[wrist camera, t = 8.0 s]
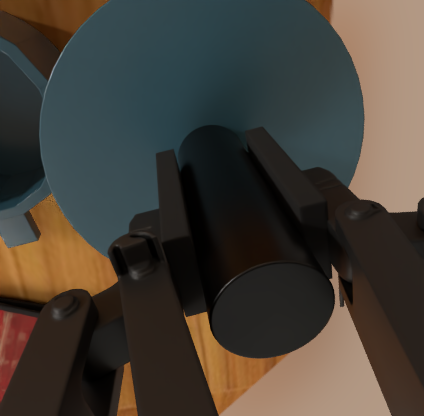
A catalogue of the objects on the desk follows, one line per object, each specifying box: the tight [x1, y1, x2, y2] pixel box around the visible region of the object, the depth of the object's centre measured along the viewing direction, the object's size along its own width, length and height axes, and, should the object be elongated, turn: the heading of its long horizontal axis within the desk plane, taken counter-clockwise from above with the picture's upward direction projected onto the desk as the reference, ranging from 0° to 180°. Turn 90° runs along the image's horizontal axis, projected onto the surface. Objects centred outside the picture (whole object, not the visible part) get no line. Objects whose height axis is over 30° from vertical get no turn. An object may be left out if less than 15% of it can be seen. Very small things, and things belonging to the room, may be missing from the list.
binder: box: [0, 298, 45, 403], centre depth 44 cm, size 16×2×21 cm
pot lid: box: [39, 0, 364, 358], centre depth 14 cm, size 15×15×11 cm
